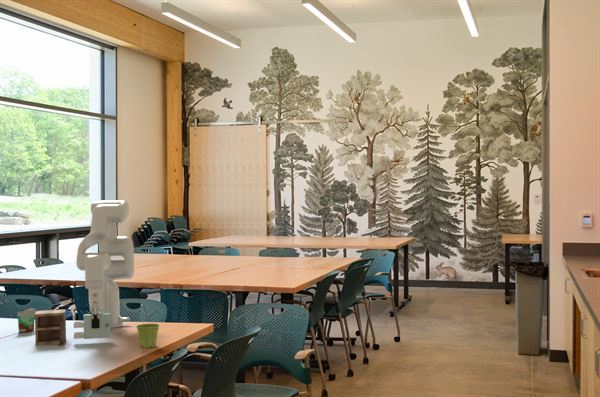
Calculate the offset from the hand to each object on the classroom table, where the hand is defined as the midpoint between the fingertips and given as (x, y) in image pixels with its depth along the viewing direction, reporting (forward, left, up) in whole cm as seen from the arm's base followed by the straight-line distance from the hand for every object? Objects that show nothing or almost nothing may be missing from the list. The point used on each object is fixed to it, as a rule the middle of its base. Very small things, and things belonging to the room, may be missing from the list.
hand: (95, 327), depth 327 cm
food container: (+29, -40, -7) cm, 50 cm away
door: (+1, 0, -5) cm, 5 cm away
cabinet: (+18, -5, -6) cm, 20 cm away
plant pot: (-21, +16, -7) cm, 27 cm away
